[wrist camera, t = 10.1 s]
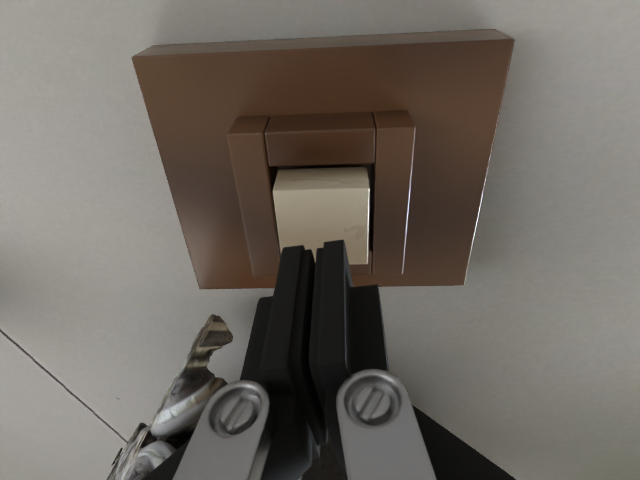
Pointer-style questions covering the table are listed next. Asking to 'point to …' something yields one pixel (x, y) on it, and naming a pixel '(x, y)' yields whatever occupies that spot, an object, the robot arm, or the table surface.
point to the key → (323, 209)
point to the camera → (195, 415)
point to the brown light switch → (329, 143)
